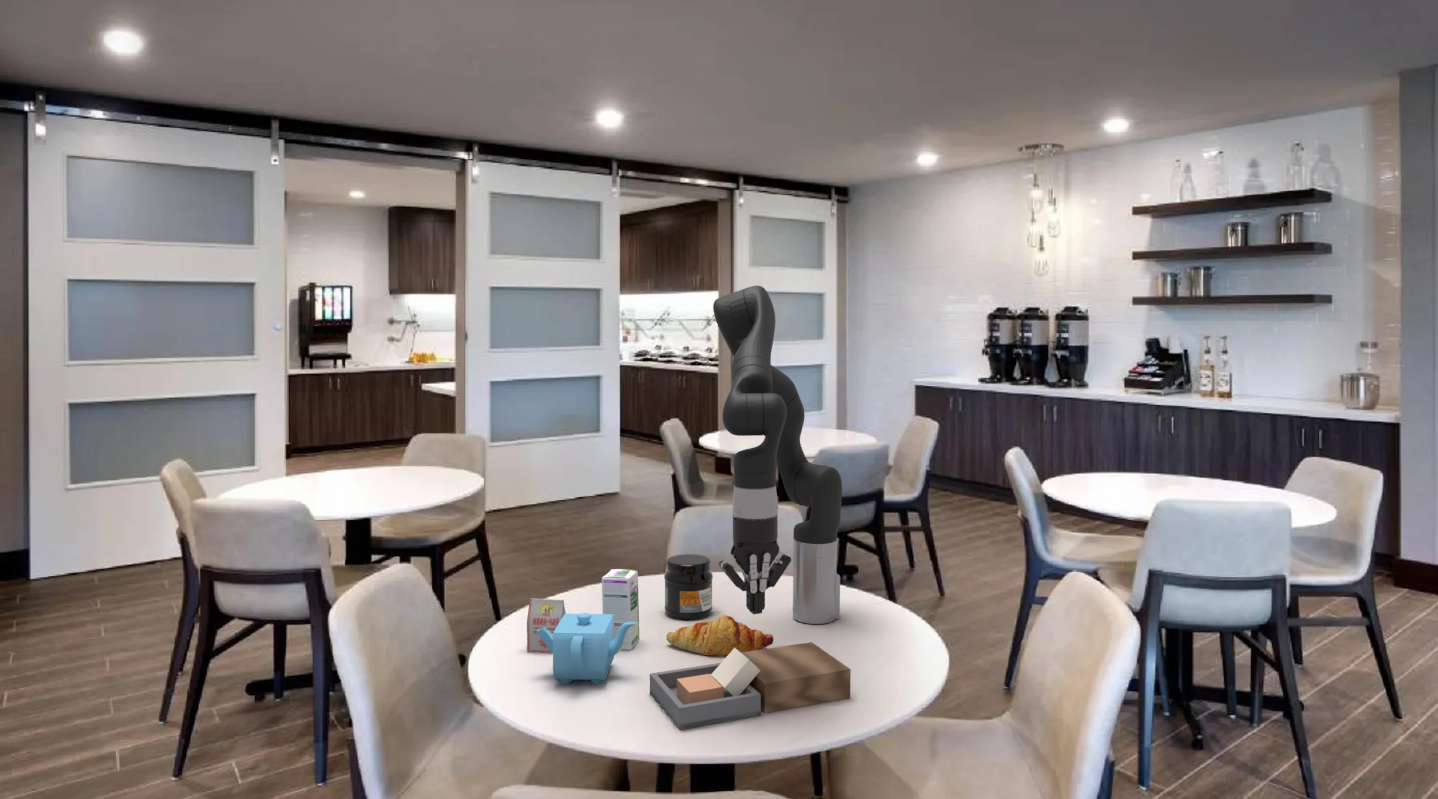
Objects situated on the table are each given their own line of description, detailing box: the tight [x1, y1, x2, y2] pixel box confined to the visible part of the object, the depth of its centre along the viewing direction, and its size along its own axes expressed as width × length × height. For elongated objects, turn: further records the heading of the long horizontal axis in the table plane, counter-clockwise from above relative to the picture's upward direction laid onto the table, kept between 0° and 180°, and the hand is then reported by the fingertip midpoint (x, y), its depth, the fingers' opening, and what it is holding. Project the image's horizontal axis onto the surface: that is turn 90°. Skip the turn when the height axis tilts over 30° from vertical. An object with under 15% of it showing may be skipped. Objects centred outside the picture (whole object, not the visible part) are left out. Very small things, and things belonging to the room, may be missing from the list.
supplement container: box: [663, 553, 714, 621], centre depth 198 cm, size 10×10×12 cm
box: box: [649, 662, 762, 731], centre depth 152 cm, size 14×15×4 cm
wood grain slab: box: [742, 641, 852, 714], centre depth 158 cm, size 16×14×5 cm
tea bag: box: [526, 597, 567, 654], centre depth 177 cm, size 4×7×10 cm, turn 81°
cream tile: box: [711, 648, 760, 696], centre depth 153 cm, size 6×6×3 cm
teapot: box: [537, 612, 637, 685], centre depth 164 cm, size 16×18×11 cm
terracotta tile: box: [677, 674, 724, 705], centre depth 152 cm, size 6×6×3 cm
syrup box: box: [601, 568, 640, 651], centre depth 179 cm, size 6×6×14 cm
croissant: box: [665, 614, 774, 657], centre depth 178 cm, size 21×10×8 cm
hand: (755, 612), depth 154 cm, fingers closed
